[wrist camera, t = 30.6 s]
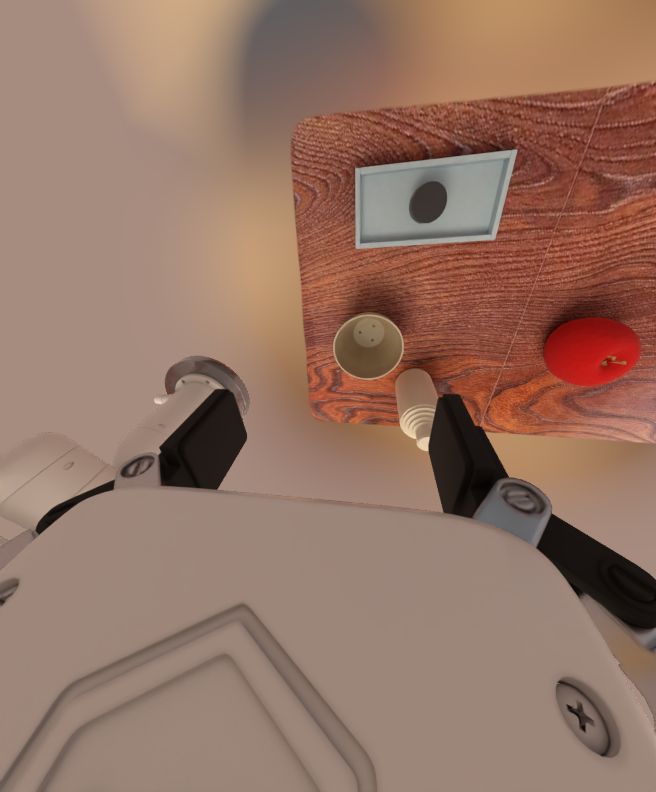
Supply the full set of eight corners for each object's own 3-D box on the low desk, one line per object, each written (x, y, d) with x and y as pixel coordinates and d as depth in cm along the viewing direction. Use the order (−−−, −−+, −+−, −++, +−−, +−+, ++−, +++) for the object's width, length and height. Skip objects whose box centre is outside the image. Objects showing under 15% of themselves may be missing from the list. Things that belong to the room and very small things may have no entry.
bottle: (394, 398, 48) (401, 459, 36) (395, 368, 45) (404, 424, 32) (429, 398, 47) (449, 462, 35) (433, 368, 44) (458, 426, 31)
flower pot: (333, 307, 41) (326, 320, 35) (397, 295, 38) (402, 308, 32) (344, 363, 46) (339, 383, 40) (401, 356, 44) (405, 376, 38)
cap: (446, 211, 32) (451, 209, 29) (415, 230, 33) (418, 230, 31) (435, 176, 30) (441, 172, 28) (404, 198, 32) (406, 196, 29)
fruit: (620, 331, 37) (692, 362, 28) (559, 377, 42) (604, 414, 33) (576, 296, 35) (639, 318, 27) (517, 347, 40) (555, 379, 32)
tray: (356, 247, 36) (355, 248, 34) (356, 171, 31) (355, 168, 30) (489, 239, 33) (495, 239, 31) (509, 153, 28) (518, 148, 27)
